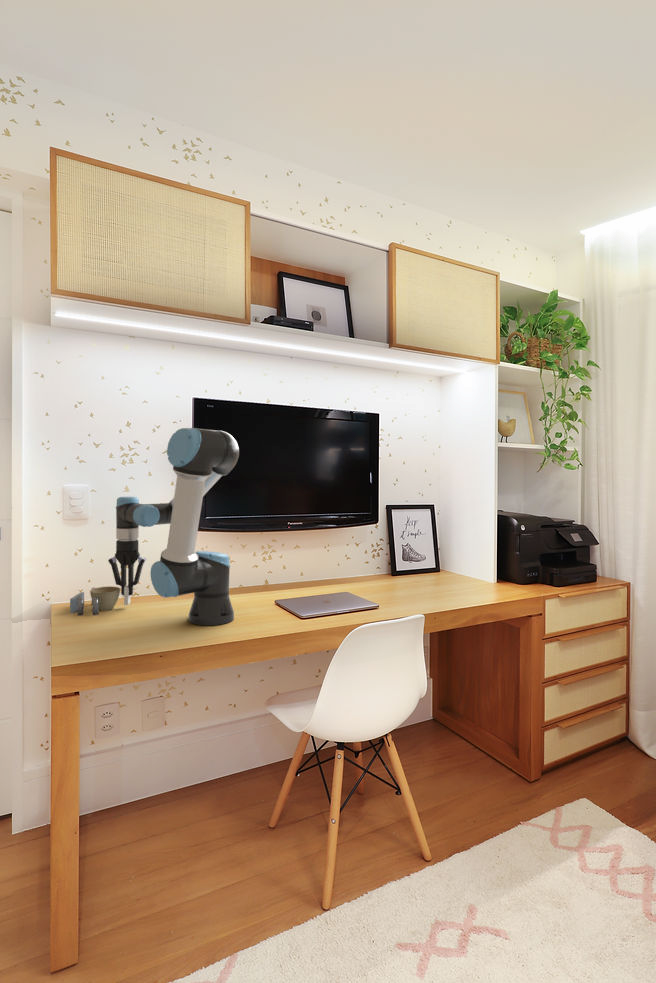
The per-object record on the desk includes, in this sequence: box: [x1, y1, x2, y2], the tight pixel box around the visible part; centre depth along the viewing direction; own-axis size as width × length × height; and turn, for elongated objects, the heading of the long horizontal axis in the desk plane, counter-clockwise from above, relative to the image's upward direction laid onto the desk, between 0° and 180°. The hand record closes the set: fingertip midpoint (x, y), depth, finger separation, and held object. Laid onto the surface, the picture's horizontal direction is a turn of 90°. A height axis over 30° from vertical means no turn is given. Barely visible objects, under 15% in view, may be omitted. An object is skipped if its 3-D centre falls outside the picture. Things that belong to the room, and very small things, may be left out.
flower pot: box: [89, 585, 121, 612], centre depth 189 cm, size 10×10×7 cm
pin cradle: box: [69, 587, 100, 616], centre depth 189 cm, size 10×16×6 cm, turn 6°
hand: (127, 603), depth 190 cm, fingers closed
